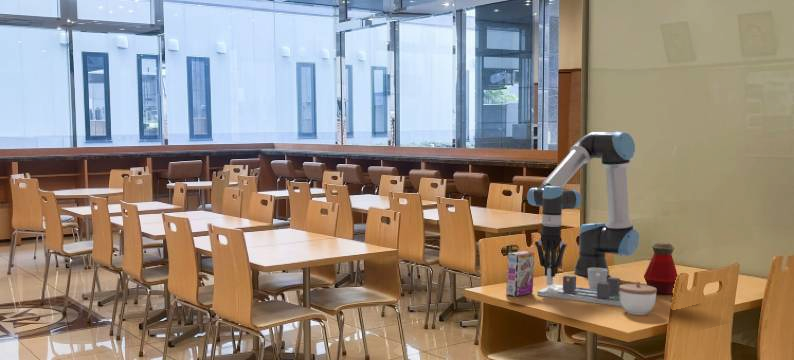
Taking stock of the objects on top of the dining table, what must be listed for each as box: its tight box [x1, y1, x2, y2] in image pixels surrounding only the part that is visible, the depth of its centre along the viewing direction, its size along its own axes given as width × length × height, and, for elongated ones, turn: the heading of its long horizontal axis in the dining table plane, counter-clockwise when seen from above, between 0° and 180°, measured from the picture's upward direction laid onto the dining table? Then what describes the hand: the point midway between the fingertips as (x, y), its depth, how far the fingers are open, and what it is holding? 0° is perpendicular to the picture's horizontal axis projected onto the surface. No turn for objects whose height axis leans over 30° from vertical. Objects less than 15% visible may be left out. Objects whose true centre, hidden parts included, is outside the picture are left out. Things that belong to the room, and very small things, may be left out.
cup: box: [587, 268, 608, 289], centre depth 317 cm, size 11×8×8 cm
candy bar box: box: [505, 250, 535, 298], centre depth 303 cm, size 11×5×16 cm, turn 134°
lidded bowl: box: [619, 281, 657, 316], centre depth 275 cm, size 13×13×11 cm
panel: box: [536, 283, 622, 307], centre depth 301 cm, size 18×34×2 cm, turn 58°
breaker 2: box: [597, 281, 611, 299], centre depth 292 cm, size 4×4×5 cm
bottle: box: [643, 241, 679, 296], centre depth 313 cm, size 16×14×20 cm
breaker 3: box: [606, 276, 621, 293], centre depth 302 cm, size 4×4×5 cm
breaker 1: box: [562, 274, 577, 291], centre depth 305 cm, size 4×4×5 cm
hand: (549, 284), depth 309 cm, fingers closed
